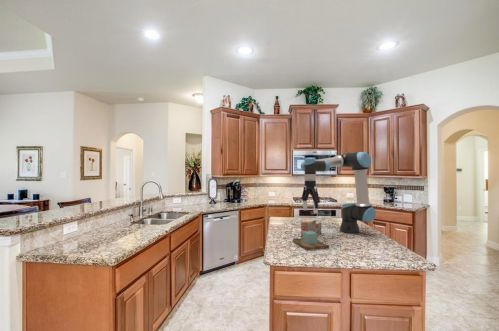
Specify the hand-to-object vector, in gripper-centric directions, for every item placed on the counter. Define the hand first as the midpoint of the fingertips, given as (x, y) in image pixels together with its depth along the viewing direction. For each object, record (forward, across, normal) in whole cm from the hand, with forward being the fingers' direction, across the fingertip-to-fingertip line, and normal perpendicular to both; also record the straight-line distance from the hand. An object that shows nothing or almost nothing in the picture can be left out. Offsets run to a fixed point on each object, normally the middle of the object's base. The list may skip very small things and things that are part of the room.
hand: (310, 211), depth 173 cm
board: (+22, 0, 0) cm, 22 cm away
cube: (+21, 0, 0) cm, 21 cm away
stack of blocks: (+23, -21, +14) cm, 34 cm away
